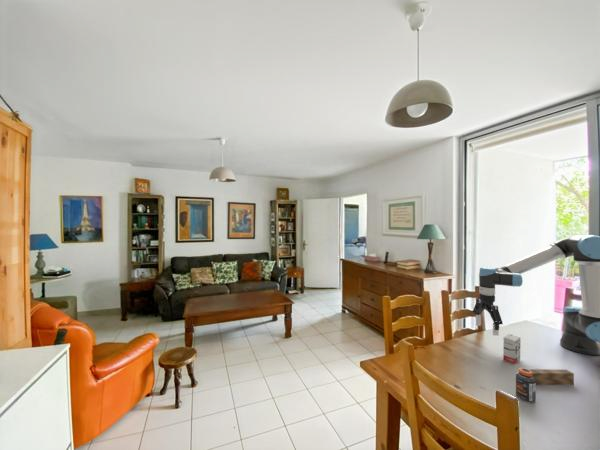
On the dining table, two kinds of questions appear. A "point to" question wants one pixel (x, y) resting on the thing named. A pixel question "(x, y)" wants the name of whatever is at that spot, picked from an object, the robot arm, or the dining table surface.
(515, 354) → the ink box
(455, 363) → the dining table surface
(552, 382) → the board
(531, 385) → the pill bottle
